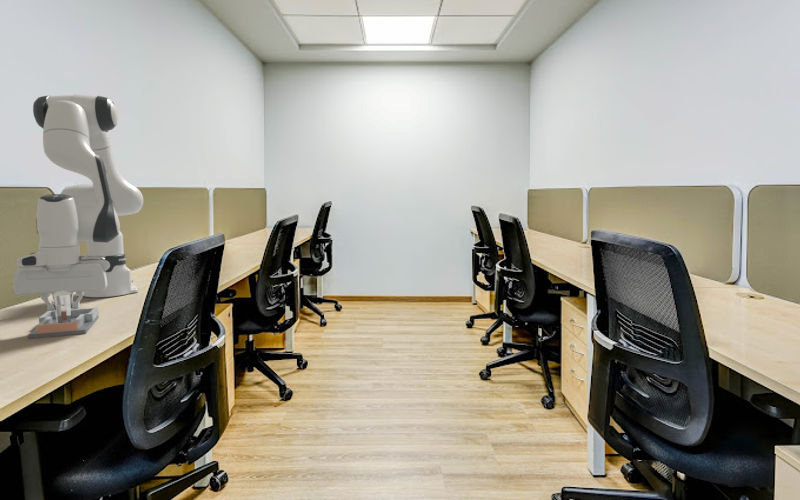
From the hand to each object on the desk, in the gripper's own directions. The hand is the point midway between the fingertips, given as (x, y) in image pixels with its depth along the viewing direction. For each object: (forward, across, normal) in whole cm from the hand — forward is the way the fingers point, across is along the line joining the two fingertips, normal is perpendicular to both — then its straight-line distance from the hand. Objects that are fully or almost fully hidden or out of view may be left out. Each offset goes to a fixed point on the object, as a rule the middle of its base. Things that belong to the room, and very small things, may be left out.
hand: (63, 309), depth 128 cm
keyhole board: (+5, 0, -1) cm, 5 cm away
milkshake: (+4, 0, 0) cm, 4 cm away
